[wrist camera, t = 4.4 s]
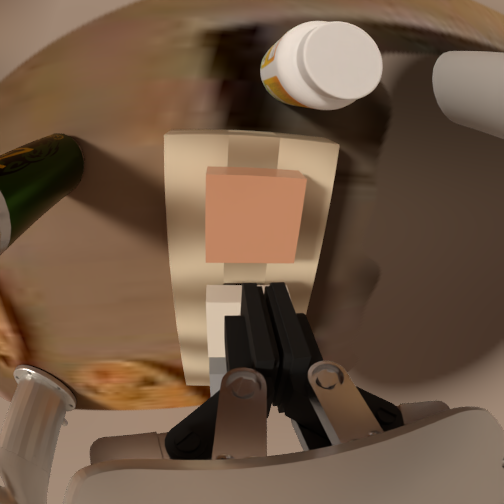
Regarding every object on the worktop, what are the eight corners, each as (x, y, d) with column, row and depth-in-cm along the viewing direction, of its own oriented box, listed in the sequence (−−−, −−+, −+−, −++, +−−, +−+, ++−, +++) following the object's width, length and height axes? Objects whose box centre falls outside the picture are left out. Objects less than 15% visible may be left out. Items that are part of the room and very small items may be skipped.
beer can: (96, 178, 21) (16, 252, 11) (51, 199, 21) (-28, 274, 11) (75, 121, 18) (-25, 157, 8) (31, 147, 18) (-63, 199, 8)
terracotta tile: (283, 238, 23) (293, 263, 20) (207, 237, 22) (205, 262, 19) (293, 164, 20) (307, 178, 17) (208, 160, 19) (205, 174, 16)
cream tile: (273, 325, 26) (280, 355, 23) (208, 326, 26) (208, 357, 23) (282, 272, 23) (292, 301, 20) (207, 271, 23) (205, 302, 20)
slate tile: (264, 377, 31) (268, 404, 28) (211, 378, 30) (211, 405, 27) (270, 343, 28) (276, 372, 24) (209, 344, 27) (209, 374, 24)
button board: (283, 364, 35) (287, 382, 32) (187, 365, 33) (186, 385, 31) (325, 138, 21) (339, 144, 19) (171, 129, 20) (163, 134, 17)
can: (483, 105, 20) (571, 134, 9) (445, 135, 22) (540, 177, 11) (457, 42, 16) (552, 48, 6) (413, 67, 18) (520, 75, 8)
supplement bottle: (331, 103, 20) (399, 115, 12) (264, 109, 20) (295, 118, 12) (324, 40, 17) (388, 14, 9) (254, 43, 17) (279, 6, 9)
